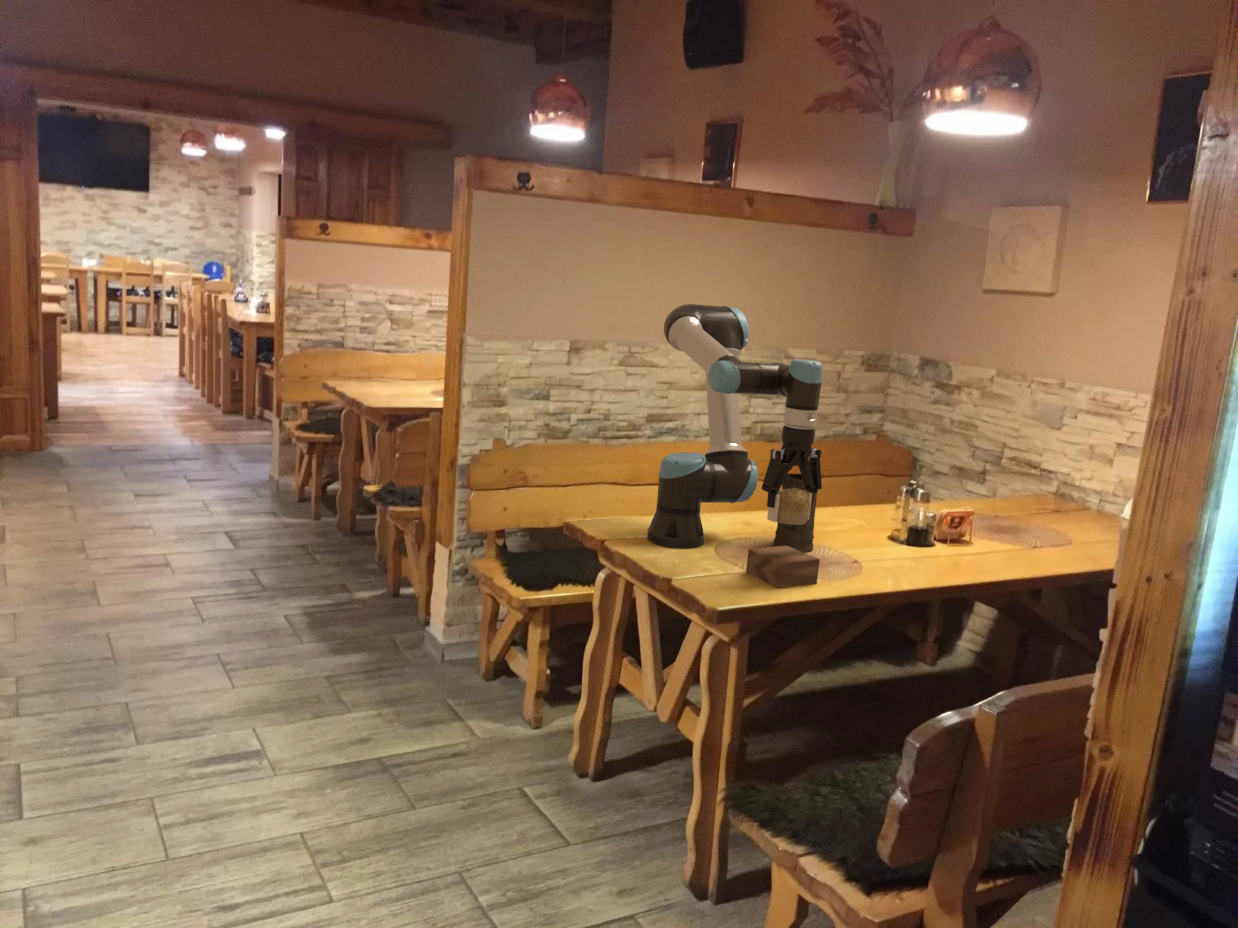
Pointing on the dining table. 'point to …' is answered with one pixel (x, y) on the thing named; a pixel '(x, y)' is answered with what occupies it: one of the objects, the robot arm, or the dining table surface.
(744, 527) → the dining table surface
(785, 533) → the beer stein
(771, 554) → the walnut block
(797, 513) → the brown cratered rock
